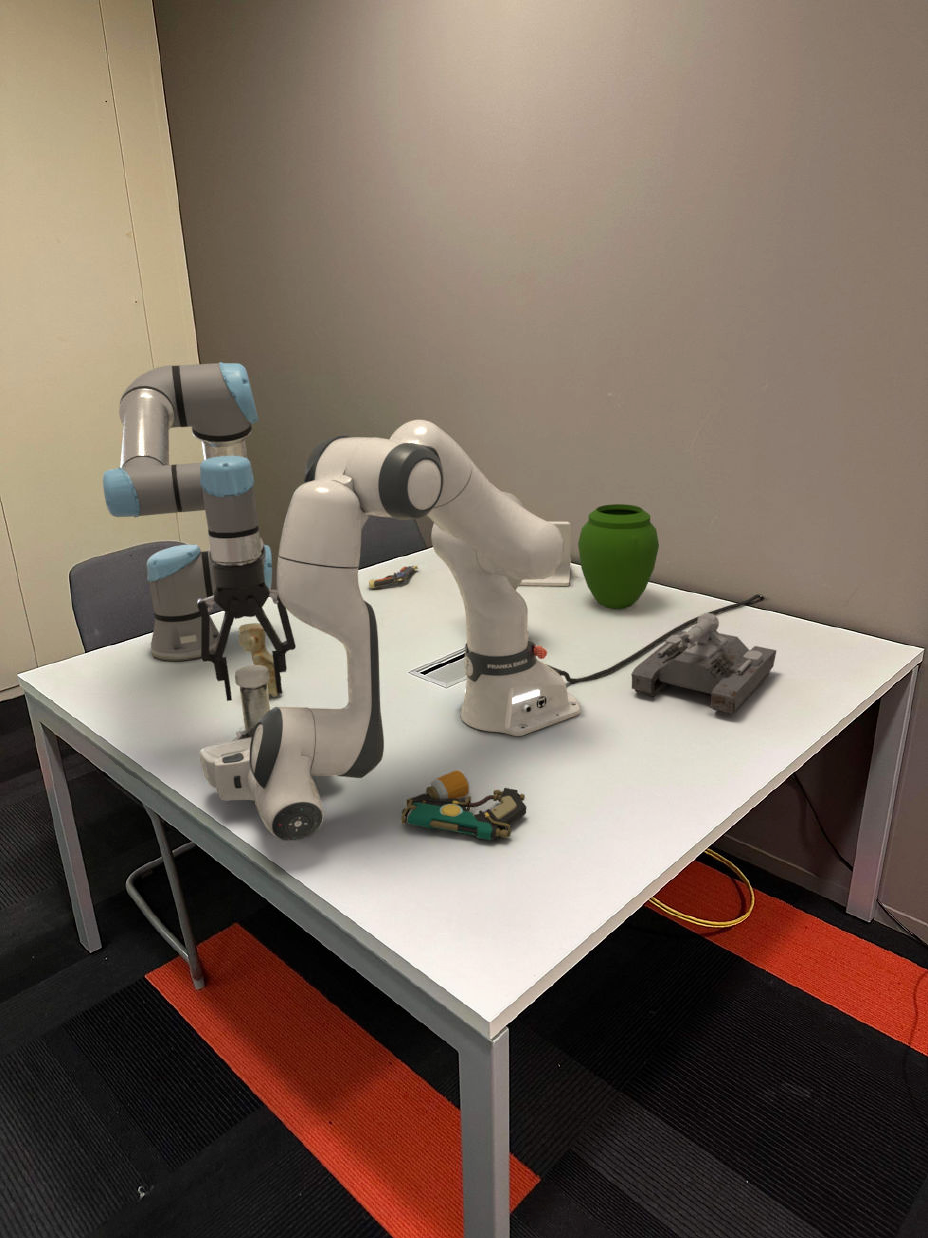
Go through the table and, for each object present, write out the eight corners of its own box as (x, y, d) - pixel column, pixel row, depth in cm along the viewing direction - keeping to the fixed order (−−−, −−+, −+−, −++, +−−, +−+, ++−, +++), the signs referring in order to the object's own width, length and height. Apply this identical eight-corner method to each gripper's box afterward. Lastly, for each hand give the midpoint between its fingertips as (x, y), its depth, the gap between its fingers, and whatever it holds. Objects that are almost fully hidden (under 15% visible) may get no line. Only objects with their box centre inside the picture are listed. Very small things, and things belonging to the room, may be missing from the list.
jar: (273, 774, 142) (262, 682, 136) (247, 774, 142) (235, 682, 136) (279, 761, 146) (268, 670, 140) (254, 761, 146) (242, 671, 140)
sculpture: (247, 690, 173) (238, 621, 168) (283, 687, 174) (275, 618, 168) (243, 702, 168) (234, 631, 162) (281, 700, 168) (273, 629, 163)
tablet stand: (569, 585, 229) (570, 524, 223) (476, 584, 232) (475, 523, 226) (570, 566, 246) (571, 508, 240) (484, 564, 249) (483, 507, 243)
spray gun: (537, 812, 130) (487, 868, 119) (446, 778, 138) (391, 827, 127) (539, 789, 129) (488, 844, 117) (446, 756, 137) (390, 804, 125)
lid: (250, 690, 135) (249, 681, 134) (228, 682, 138) (227, 673, 138) (276, 679, 139) (275, 669, 138) (255, 671, 142) (254, 662, 142)
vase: (599, 587, 227) (601, 497, 218) (668, 600, 216) (673, 505, 208) (562, 608, 212) (564, 513, 204) (634, 623, 202) (639, 523, 193)
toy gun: (366, 581, 230) (401, 578, 228) (385, 565, 248) (418, 562, 246) (367, 590, 231) (403, 587, 228) (386, 574, 248) (419, 571, 246)
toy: (680, 652, 185) (684, 586, 179) (774, 672, 174) (781, 603, 168) (629, 696, 166) (633, 623, 160) (731, 721, 154) (738, 645, 149)
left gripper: (300, 546, 137) (313, 675, 145) (169, 559, 132) (190, 693, 140) (306, 558, 130) (319, 694, 139) (167, 573, 125) (189, 712, 133)
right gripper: (339, 737, 133) (317, 702, 145) (204, 766, 126) (193, 727, 138) (342, 772, 136) (320, 734, 148) (210, 803, 128) (198, 761, 140)
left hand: (254, 693), depth 139 cm, fingers open, 7 cm apart
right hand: (258, 731), depth 143 cm, fingers closed on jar, 4 cm apart
